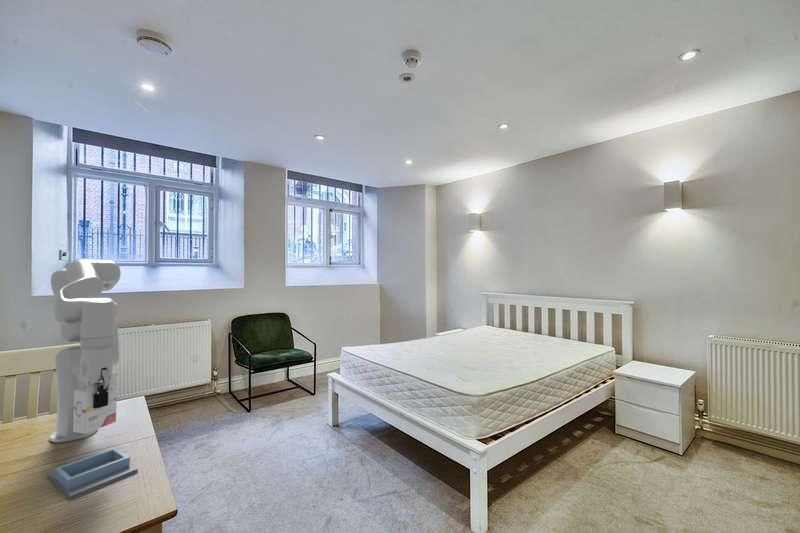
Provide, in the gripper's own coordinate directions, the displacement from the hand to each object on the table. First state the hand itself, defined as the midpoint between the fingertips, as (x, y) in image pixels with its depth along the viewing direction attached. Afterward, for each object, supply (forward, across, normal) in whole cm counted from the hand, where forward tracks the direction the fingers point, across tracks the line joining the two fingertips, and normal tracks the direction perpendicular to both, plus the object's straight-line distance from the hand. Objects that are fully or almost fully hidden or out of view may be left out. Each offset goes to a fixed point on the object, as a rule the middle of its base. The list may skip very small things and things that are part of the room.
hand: (95, 403), depth 101 cm
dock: (+21, -1, 0) cm, 21 cm away
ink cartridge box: (+7, 0, 0) cm, 7 cm away
